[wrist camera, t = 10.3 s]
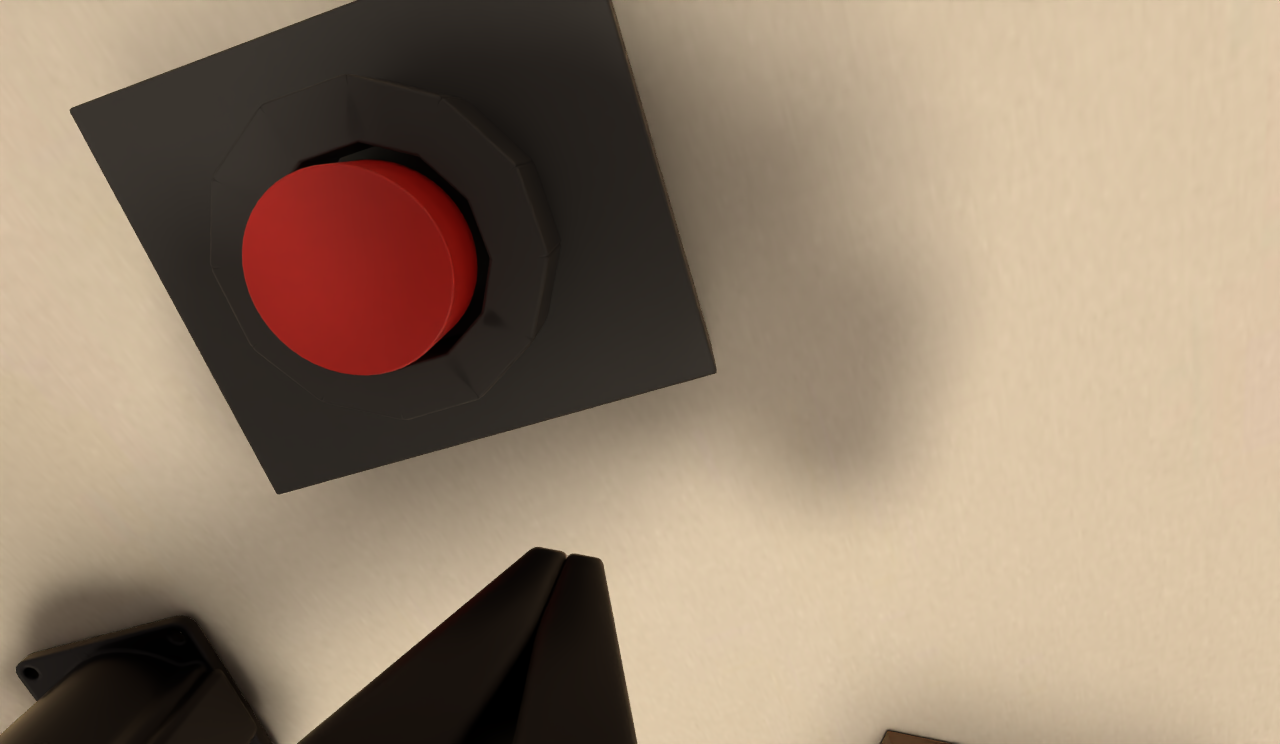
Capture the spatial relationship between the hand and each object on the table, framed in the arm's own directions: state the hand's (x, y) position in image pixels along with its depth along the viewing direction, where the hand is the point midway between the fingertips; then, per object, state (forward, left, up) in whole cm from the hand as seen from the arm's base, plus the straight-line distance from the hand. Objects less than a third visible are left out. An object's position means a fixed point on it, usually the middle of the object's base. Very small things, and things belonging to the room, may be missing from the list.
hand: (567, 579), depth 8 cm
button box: (-4, +4, -11) cm, 12 cm away
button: (-4, +4, -7) cm, 9 cm away
